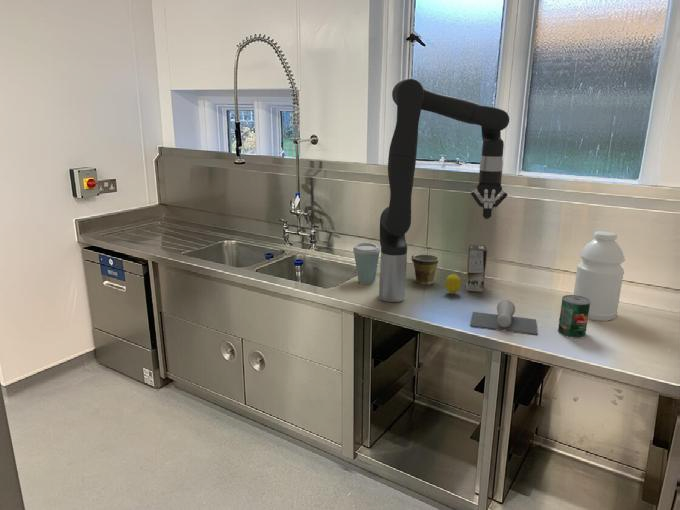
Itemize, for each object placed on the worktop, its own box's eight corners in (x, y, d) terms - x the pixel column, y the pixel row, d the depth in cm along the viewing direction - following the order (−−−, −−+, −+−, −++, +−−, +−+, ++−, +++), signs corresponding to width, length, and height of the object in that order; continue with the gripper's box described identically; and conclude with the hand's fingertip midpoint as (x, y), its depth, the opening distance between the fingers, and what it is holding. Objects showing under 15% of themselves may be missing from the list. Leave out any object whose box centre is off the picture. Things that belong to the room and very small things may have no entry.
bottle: (597, 324, 167) (610, 239, 160) (561, 310, 179) (572, 230, 171) (625, 317, 173) (639, 235, 166) (589, 303, 185) (600, 226, 178)
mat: (472, 313, 175) (472, 311, 175) (535, 320, 170) (535, 319, 169) (469, 326, 164) (470, 325, 164) (537, 335, 158) (537, 333, 158)
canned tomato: (583, 340, 155) (588, 305, 152) (555, 334, 159) (560, 300, 156) (587, 331, 162) (592, 298, 159) (560, 325, 166) (564, 293, 163)
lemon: (461, 293, 195) (463, 272, 193) (458, 297, 190) (459, 276, 188) (446, 290, 197) (448, 270, 195) (443, 295, 192) (444, 274, 190)
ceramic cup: (442, 283, 206) (444, 258, 203) (423, 287, 200) (425, 262, 198) (420, 274, 216) (421, 251, 213) (401, 278, 211) (402, 254, 208)
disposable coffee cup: (383, 285, 203) (384, 247, 199) (356, 287, 200) (357, 249, 196) (374, 276, 213) (375, 241, 208) (349, 278, 210) (349, 242, 206)
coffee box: (483, 292, 196) (487, 250, 192) (466, 290, 197) (469, 249, 193) (482, 284, 205) (485, 244, 200) (465, 283, 206) (468, 243, 202)
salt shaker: (496, 298, 173) (492, 314, 162) (514, 296, 171) (512, 313, 159) (498, 314, 175) (495, 331, 163) (516, 312, 172) (514, 330, 161)
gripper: (472, 169, 177) (468, 219, 182) (512, 170, 175) (507, 221, 180) (470, 167, 184) (466, 215, 189) (508, 168, 183) (504, 217, 187)
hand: (486, 218), depth 184 cm, fingers closed
